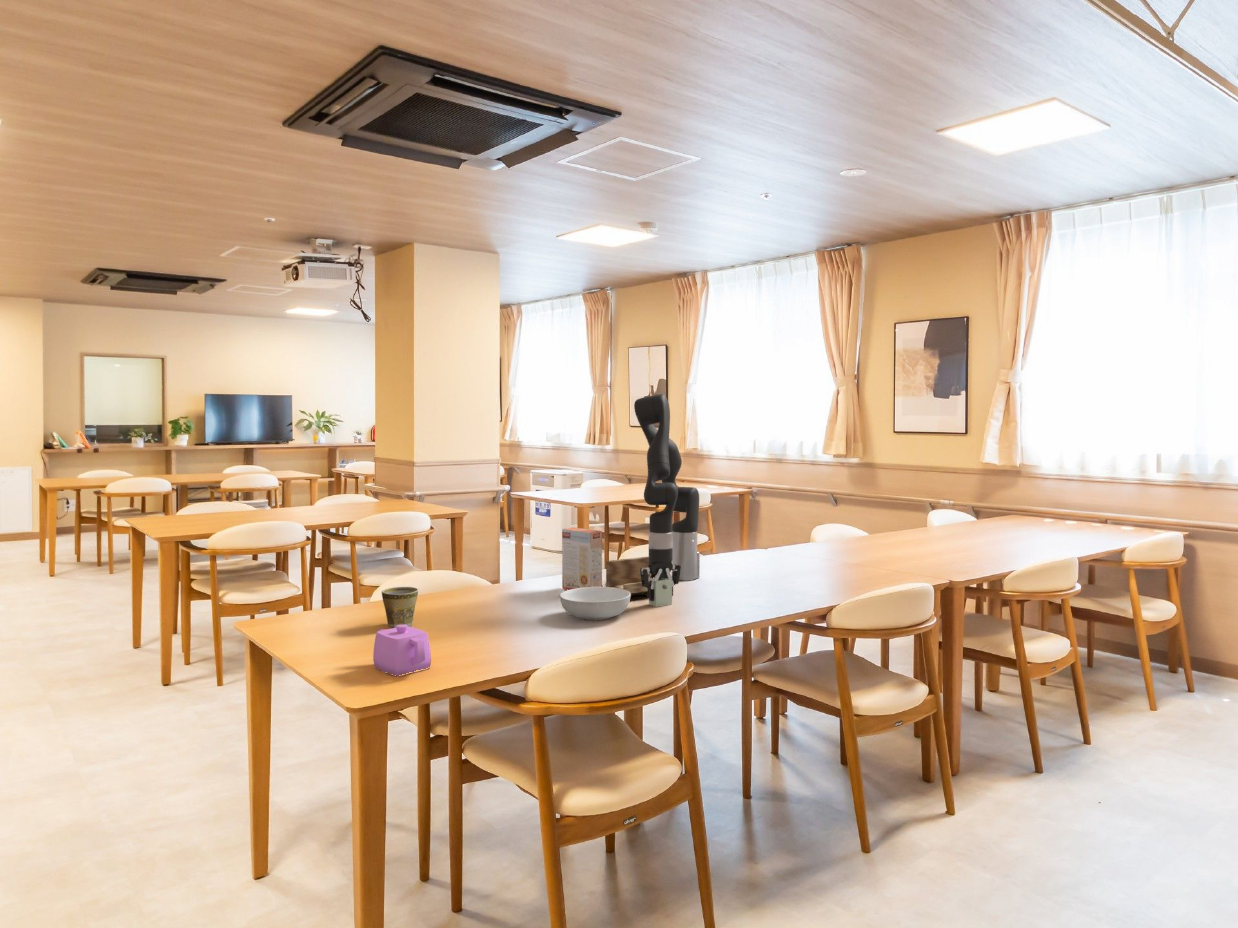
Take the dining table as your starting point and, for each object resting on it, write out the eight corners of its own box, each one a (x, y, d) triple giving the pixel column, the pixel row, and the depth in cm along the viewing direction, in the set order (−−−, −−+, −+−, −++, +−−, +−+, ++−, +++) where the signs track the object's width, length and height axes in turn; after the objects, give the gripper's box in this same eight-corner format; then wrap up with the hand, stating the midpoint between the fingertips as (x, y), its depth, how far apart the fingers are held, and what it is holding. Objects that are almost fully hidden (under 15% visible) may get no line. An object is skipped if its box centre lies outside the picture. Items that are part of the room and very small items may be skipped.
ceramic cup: (417, 629, 229) (416, 593, 228) (380, 630, 227) (379, 594, 226) (420, 617, 241) (420, 583, 241) (385, 619, 240) (384, 585, 239)
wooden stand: (647, 592, 276) (647, 556, 275) (661, 596, 269) (661, 560, 268) (606, 597, 268) (606, 560, 267) (619, 602, 261) (619, 565, 260)
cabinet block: (664, 601, 262) (665, 577, 261) (673, 605, 257) (673, 579, 257) (648, 604, 259) (649, 578, 258) (657, 607, 254) (657, 581, 254)
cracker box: (603, 592, 275) (603, 530, 274) (590, 595, 271) (590, 532, 270) (574, 586, 285) (574, 526, 284) (561, 589, 281) (561, 528, 280)
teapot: (362, 664, 197) (361, 622, 196) (401, 655, 204) (400, 614, 204) (401, 681, 184) (400, 636, 184) (441, 671, 192) (441, 627, 191)
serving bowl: (588, 605, 258) (588, 583, 257) (644, 614, 246) (644, 591, 245) (545, 618, 241) (545, 595, 240) (602, 629, 229) (602, 604, 228)
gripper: (673, 542, 264) (672, 594, 265) (634, 546, 257) (634, 599, 258) (686, 546, 258) (686, 599, 259) (647, 549, 250) (647, 604, 251)
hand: (660, 599), depth 258 cm, fingers closed on cabinet block, 6 cm apart
